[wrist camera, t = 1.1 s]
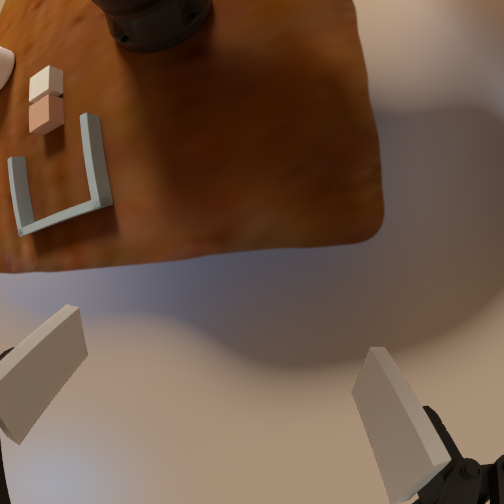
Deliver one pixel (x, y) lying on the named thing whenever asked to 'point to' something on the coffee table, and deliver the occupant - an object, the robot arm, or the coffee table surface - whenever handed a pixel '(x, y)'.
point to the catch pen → (94, 173)
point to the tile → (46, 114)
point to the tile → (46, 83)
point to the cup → (5, 65)
